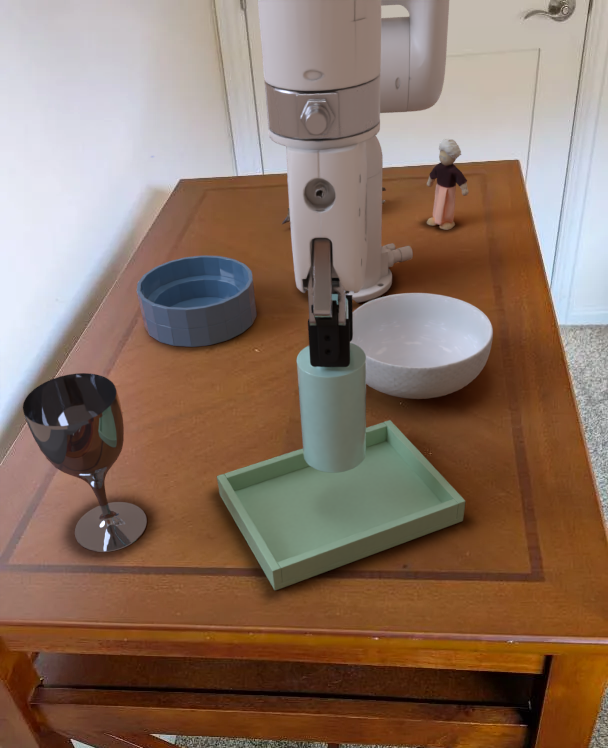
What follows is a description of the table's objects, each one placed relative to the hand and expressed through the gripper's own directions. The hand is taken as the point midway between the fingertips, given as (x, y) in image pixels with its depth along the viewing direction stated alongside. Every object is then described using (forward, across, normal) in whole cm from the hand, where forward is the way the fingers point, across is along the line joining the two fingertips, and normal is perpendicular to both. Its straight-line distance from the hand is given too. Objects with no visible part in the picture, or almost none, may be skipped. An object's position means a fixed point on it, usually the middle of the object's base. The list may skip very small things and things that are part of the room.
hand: (332, 350), depth 64 cm
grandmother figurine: (+18, +67, -12) cm, 70 cm away
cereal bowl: (+18, +23, -8) cm, 30 cm away
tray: (+18, 0, 0) cm, 18 cm away
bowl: (+18, +36, +21) cm, 46 cm away
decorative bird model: (+18, +71, +5) cm, 73 cm away
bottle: (+11, 0, 0) cm, 11 cm away
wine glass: (+18, -4, +22) cm, 29 cm away
